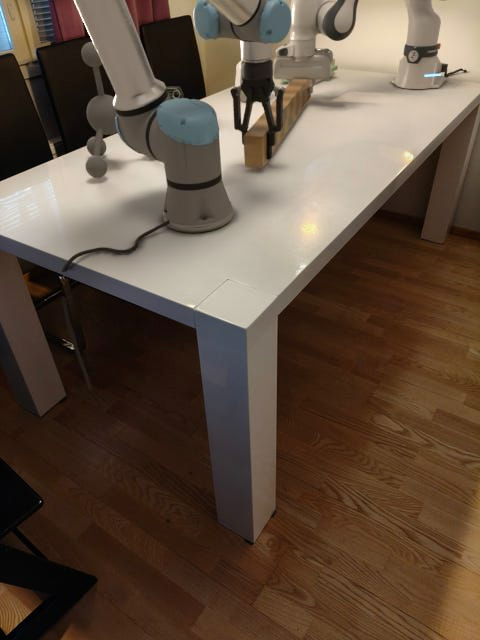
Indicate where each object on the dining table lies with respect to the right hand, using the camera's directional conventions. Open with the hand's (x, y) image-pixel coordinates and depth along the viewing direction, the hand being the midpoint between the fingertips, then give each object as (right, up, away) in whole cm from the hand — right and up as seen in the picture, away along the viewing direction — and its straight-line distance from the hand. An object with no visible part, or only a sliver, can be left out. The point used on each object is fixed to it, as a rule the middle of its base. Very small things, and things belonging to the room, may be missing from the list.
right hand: (301, 92), depth 173 cm
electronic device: (-17, +4, +14) cm, 22 cm away
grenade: (-44, -11, -4) cm, 45 cm away
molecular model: (-55, -36, -36) cm, 75 cm away
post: (-8, -20, -21) cm, 30 cm away
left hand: (-17, -37, -43) cm, 60 cm away
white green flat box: (+7, +22, +35) cm, 42 cm away
